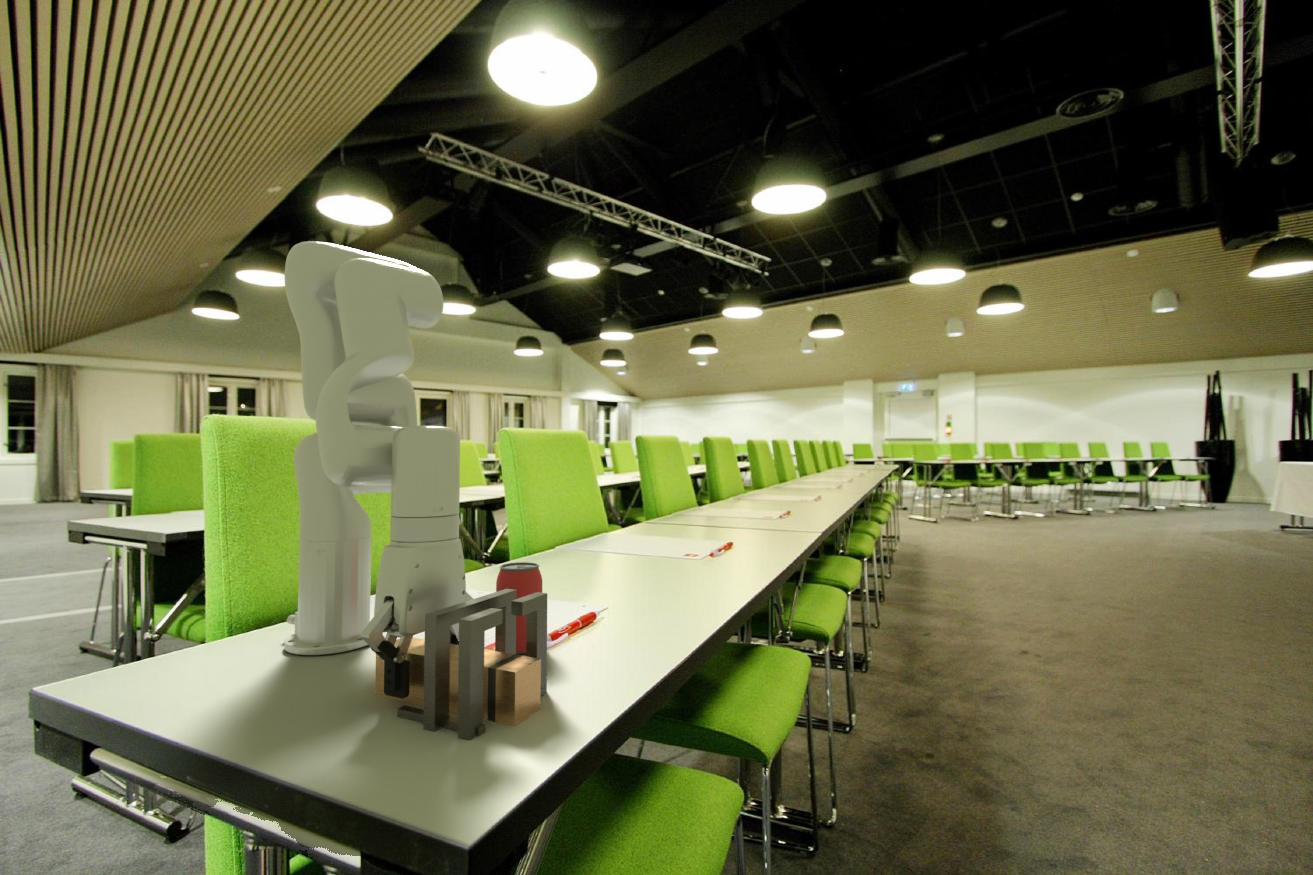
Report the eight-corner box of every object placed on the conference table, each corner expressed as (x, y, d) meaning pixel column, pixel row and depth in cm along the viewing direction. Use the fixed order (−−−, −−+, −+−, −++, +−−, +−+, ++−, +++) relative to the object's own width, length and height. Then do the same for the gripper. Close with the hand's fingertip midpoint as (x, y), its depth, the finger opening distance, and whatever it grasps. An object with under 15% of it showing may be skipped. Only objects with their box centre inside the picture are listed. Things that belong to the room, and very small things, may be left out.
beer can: (530, 657, 80) (531, 570, 81) (486, 654, 82) (487, 568, 82) (549, 643, 87) (549, 562, 87) (508, 640, 88) (508, 560, 88)
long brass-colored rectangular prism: (375, 694, 68) (375, 646, 68) (406, 681, 72) (406, 636, 72) (514, 726, 60) (515, 672, 60) (540, 709, 64) (541, 658, 64)
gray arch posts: (389, 720, 61) (391, 609, 61) (474, 677, 73) (476, 585, 73) (471, 740, 56) (472, 621, 57) (548, 691, 68) (549, 593, 69)
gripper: (454, 521, 78) (452, 656, 77) (336, 537, 62) (332, 707, 61) (499, 524, 75) (497, 664, 74) (387, 541, 59) (384, 719, 58)
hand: (423, 682), depth 68 cm, fingers open, 7 cm apart
